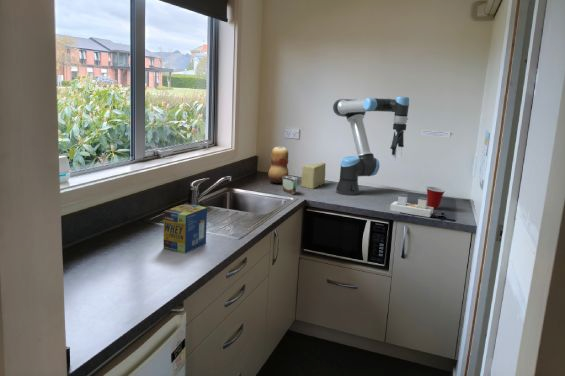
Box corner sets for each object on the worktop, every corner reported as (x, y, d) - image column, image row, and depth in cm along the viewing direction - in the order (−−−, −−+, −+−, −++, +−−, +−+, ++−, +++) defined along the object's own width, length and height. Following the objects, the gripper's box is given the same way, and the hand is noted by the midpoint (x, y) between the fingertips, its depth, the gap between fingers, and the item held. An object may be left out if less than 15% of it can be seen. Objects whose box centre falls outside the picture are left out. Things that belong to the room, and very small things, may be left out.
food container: (301, 194, 291) (302, 178, 289) (293, 195, 288) (294, 179, 286) (289, 190, 301) (290, 175, 299) (281, 191, 297) (282, 175, 295)
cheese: (317, 182, 332) (319, 161, 329) (329, 184, 326) (331, 163, 323) (300, 186, 314) (301, 164, 311) (312, 189, 309) (314, 166, 305)
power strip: (389, 210, 266) (390, 203, 265) (394, 206, 275) (395, 199, 274) (444, 219, 253) (445, 212, 252) (447, 215, 261) (448, 208, 260)
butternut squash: (271, 185, 312) (273, 148, 306) (265, 181, 324) (267, 145, 319) (291, 185, 317) (293, 148, 312) (283, 181, 329) (286, 145, 324)
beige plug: (416, 213, 262) (418, 198, 260) (417, 212, 265) (419, 196, 264) (424, 215, 260) (426, 199, 258) (425, 213, 264) (427, 198, 262)
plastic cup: (444, 211, 271) (446, 191, 268) (424, 209, 273) (427, 189, 270) (441, 206, 281) (444, 187, 279) (423, 205, 283) (425, 185, 281)
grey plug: (396, 210, 267) (398, 194, 265) (398, 208, 270) (399, 193, 268) (404, 211, 265) (406, 196, 263) (405, 210, 269) (407, 194, 267)
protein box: (162, 248, 185) (162, 210, 182) (185, 238, 199) (186, 202, 196) (184, 254, 181) (185, 215, 178) (206, 242, 195) (207, 206, 191)
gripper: (401, 124, 264) (396, 162, 269) (411, 122, 286) (407, 157, 290) (388, 123, 267) (384, 160, 272) (398, 121, 289) (395, 155, 294)
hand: (395, 158), depth 281 cm, fingers open, 13 cm apart
